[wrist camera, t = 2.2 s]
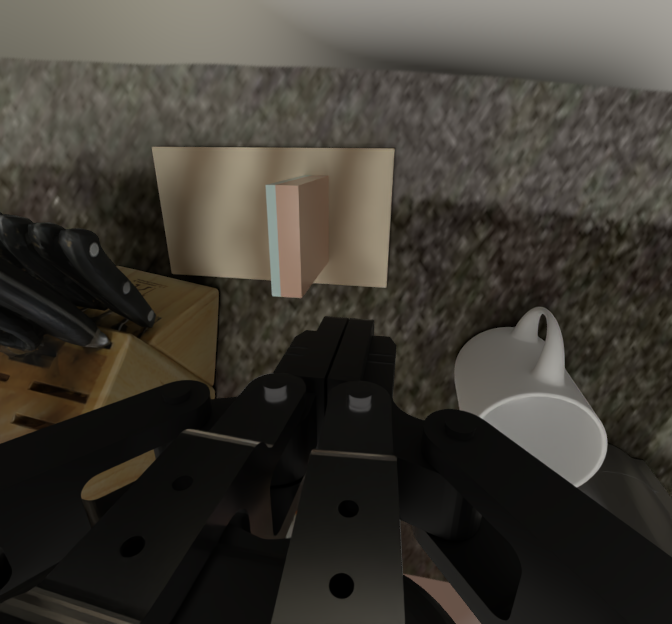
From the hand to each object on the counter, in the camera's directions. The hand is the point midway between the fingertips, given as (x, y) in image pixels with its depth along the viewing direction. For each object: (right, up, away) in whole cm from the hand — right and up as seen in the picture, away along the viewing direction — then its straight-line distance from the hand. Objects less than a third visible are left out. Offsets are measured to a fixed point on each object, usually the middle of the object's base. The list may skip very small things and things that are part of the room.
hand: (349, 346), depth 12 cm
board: (-6, +9, +22) cm, 25 cm away
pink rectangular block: (-2, +9, +21) cm, 22 cm away
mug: (+15, -2, +23) cm, 28 cm away
